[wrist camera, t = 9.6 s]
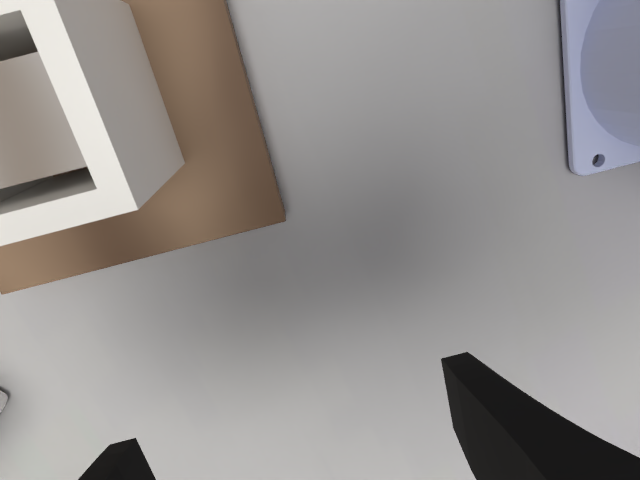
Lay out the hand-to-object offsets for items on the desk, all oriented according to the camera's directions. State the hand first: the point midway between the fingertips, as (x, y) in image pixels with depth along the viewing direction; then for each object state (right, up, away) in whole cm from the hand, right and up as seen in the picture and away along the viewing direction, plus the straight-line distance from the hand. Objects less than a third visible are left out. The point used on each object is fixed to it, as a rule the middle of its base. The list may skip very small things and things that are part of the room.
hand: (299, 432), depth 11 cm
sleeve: (-7, +9, +5) cm, 13 cm away
